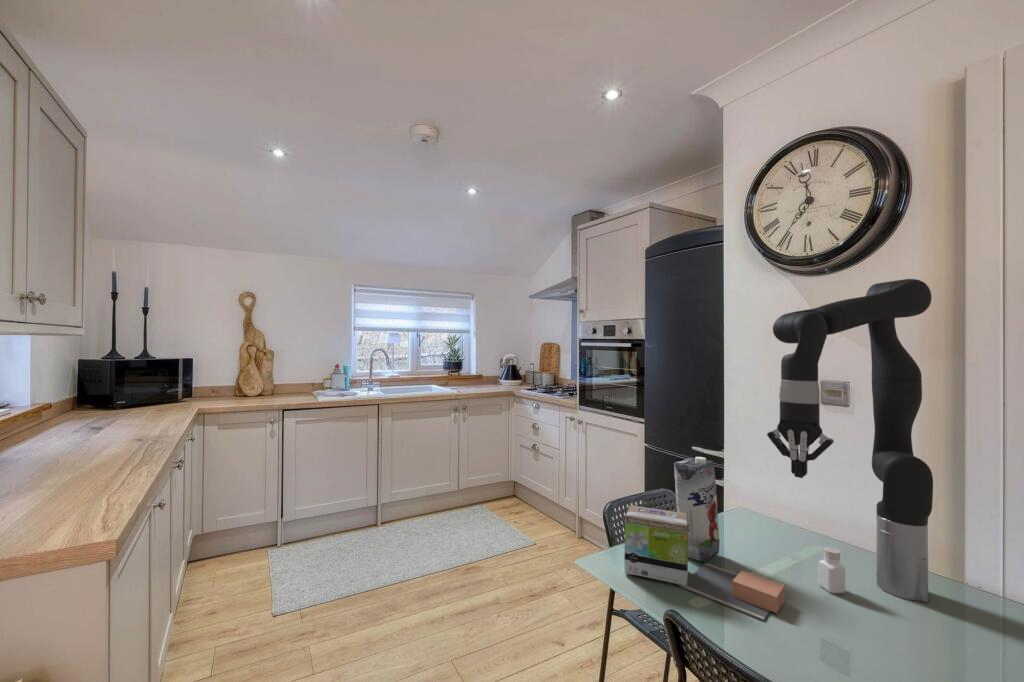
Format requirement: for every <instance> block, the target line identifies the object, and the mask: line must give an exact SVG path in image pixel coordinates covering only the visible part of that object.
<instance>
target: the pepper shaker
mask: <svg viewBox="0 0 1024 682" xmlns="http://www.w3.org/2000/svg"><path fill="white" fill-rule="evenodd" d="M840 560H841V552H840V550H838V549H836V548H833V547H829V546H825V547H823V559H821V560H819V561H818V585H819V587H821V588H822V589H823V590H825V591H827V592H828V593H830V594H844V593H846V568H845V567H844V566H843V565H842V564H841V563H840V562H841V561H840Z"/></svg>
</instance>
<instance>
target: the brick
mask: <svg viewBox="0 0 1024 682" xmlns="http://www.w3.org/2000/svg"><path fill="white" fill-rule="evenodd" d="M737 574H738V575H737V576H736V577H735V578H734V580H733V581H732V596H733V597H736V598H738V599H741V600H743V601H746V602H749V603H751V604H754V605H756V606H759V607H761V608H764V609H767V610H769V611H770V612H773V613H775V614H778V612H779V610H780V609H781V607H782V606H783V604H784V603H785V600H786V594H785V593H786V585H785V584H783V583H780V582H777V581H775V580H772V579H769V578H766V577H763V576H760V575H758V574H755V573H751V572H748V571H745V570H741V571H740V572H739V573H737Z"/></svg>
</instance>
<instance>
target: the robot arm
mask: <svg viewBox="0 0 1024 682" xmlns="http://www.w3.org/2000/svg"><path fill="white" fill-rule="evenodd" d="M931 303H932V291H931V289H930V287H929V286H928V284H927V283H926V282H924V281H922V280H920V279H917V278H905V279H904V278H903V279H897V280H892V281H886V282H885V281H884V282H879V283H874V284H872V285H871V286H869V288H868V289H867V291H866V293H865V296H859V297H853V298H847V299H842V300H838V301H833V302H830V303H827V304H823V305H820V306H818V307H814V308H810V309H809V308H808V309H803V310H799V311H797V310H796V311H793V312H788V313H785V314H782V315H780V316H779V317H777V319H776V320H775V321H774V322H773V326H772V332H773V335H774V337H775V338H776V339H777V340H778V341H780V342H782V343H784V344H797V345H796V348H795V351H794V352H793V353H789V354H785V355H784V356H783V357H782V358H781V363H780V373H781V374H780V377H781V378H780V386H779V395H778V397H779V422H778V424H777V426H776V429H774V430H772V431H769V432H767V434H766V435H767V436H766V437H768V438H769V440H770V441H771V443H772V444H773V445H774V446H775V448H776V449H777V450H778V452H779V453H780V454H781V455H782V456H784V457H788V458H789V460H790V462H791V463H790V464H791V465H790V467H791V469H790V471H791V474H793V475H794V477H795V478H799V479H803V478H804V477H806V476H807V474H808V462H809V461H815V460H816V459H818V458H819V456H821V455H822V454H823V453H824V452H825V451H826V450H827V449H828V448H829V447H830V446H832V445H833V444H834V443H835V442H834V439H833V438H831V437H828V436H826V434H824V433H823V429H822V427H821V424H820V418H821V417H820V411H821V410H820V401H821V400H820V397H821V396H820V387H819V362H820V359H821V355H822V353H823V349H824V346H825V343H826V340H827V337H828V335H829V336H831V335H834V334H837V333H842V332H844V331H848V330H850V329H854V328H857V327H861V326H864V325H867V327H868V333H869V339H870V342H869V343H870V354H871V356H870V357H871V393H872V394H871V395H872V409H873V410H872V411H873V412H872V413H873V421H874V423H873V424H874V437H873V447H872V456H871V468H872V472H873V474H874V475H875V477H876V478H877V479H878V480H879V481H880V482H882V498H881V500H880V501H878V502H877V503H876V575H875V576H876V584H877V586H878V587H879V588H880V589H881V590H883V591H884V592H886V593H889V594H890V595H893V596H895V597H898V598H901V599H905V600H911V601H917V602H918V601H919V602H923V603H927V604H929V536H928V535H929V534H928V532H929V531H928V530H929V529H928V527H929V526H928V524H929V517H930V515H931V514H932V510H933V498H934V497H933V495H934V477H933V473H932V470H931V468H930V466H929V465H928V464H927V463H926V462H925V460H923V459H921V458H918V457H917V456H914V449H913V441H912V431H913V426H914V423H915V420H916V417H917V415H918V413H919V410H920V407H921V404H922V401H923V383H922V382H923V381H922V379H923V378H922V371H921V370H920V367H919V366H918V365H919V364H917V362H916V361H915V360H914V358H913V357H912V355H911V354H910V353H909V352H908V351H907V350H906V348H905V347H904V346H903V344H902V343H901V341H900V339H899V337H898V334H897V328H896V323H895V322H896V320H895V319H898V318H899V319H901V318H910V317H915V316H919V315H921V314H923V313H925V312H926V311H927V310H928V309H929V307H930V305H931ZM781 436H782V437H783V438H784V440H785V441H786V442H787V443H788V447H787V445H786V444H785V443H784V442H783V441H782V439H781V438H782V437H781ZM818 439H819V440H818ZM817 440H818V445H819V446H818V447H817V448H816V449H814V450H813V451H812V452H811V453H809V450H810V446H811V445H813V444H814V443H815V441H817Z"/></svg>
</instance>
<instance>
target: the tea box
mask: <svg viewBox="0 0 1024 682" xmlns="http://www.w3.org/2000/svg"><path fill="white" fill-rule="evenodd" d="M628 506H629V507H628V509H627V512H626V513H625V514H626V515H625V517H624V518H625V519H624V522H625V523H624V559H623V560H624V574H625V575H634V576H639V577H640V576H641V577H643V578H648V579H653V580H658V581H661V582H662V581H663V582H665V583H666V582H667V583H671V584H676V585H679V586H680V585H683V586H686V585H687V579H688V576H689V575H688V573H689V572H688V571H689V570H688V569H689V567H688V564H689V563H688V562H689V558H688V521H687V513H680V512H677V511H674V510H665V509H659V508H653V507H652V508H650V507H646V506H645V507H644V506H640V505H639V506H638V505H633V504H632V505H631V504H629V505H628Z"/></svg>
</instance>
